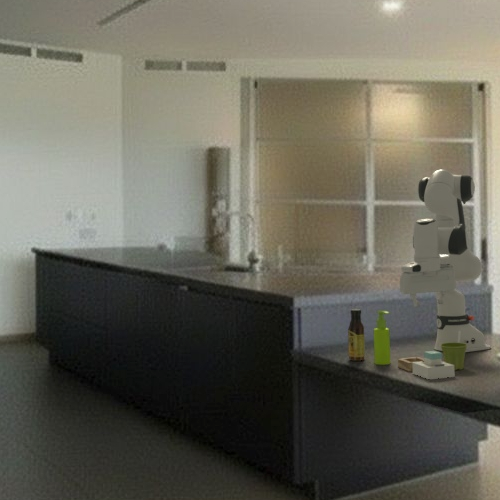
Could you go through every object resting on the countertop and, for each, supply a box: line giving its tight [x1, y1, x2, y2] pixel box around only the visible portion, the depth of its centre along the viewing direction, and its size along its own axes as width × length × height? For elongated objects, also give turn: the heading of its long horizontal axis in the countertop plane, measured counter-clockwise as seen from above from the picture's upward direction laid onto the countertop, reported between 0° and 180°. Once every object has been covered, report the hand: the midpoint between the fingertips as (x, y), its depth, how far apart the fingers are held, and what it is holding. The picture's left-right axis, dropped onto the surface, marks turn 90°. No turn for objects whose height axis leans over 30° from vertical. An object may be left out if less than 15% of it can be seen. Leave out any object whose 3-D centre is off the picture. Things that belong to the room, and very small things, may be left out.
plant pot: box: [440, 343, 467, 371], centre depth 271 cm, size 9×9×9 cm
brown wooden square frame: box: [397, 356, 424, 372], centre depth 274 cm, size 9×10×3 cm
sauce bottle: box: [347, 308, 366, 362], centre depth 294 cm, size 6×6×20 cm
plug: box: [423, 350, 443, 366], centre depth 261 cm, size 4×5×8 cm
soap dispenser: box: [373, 310, 391, 366], centre depth 285 cm, size 6×7×20 cm
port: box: [412, 360, 456, 380], centre depth 261 cm, size 10×11×4 cm
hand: (428, 305), depth 264 cm, fingers open, 8 cm apart
